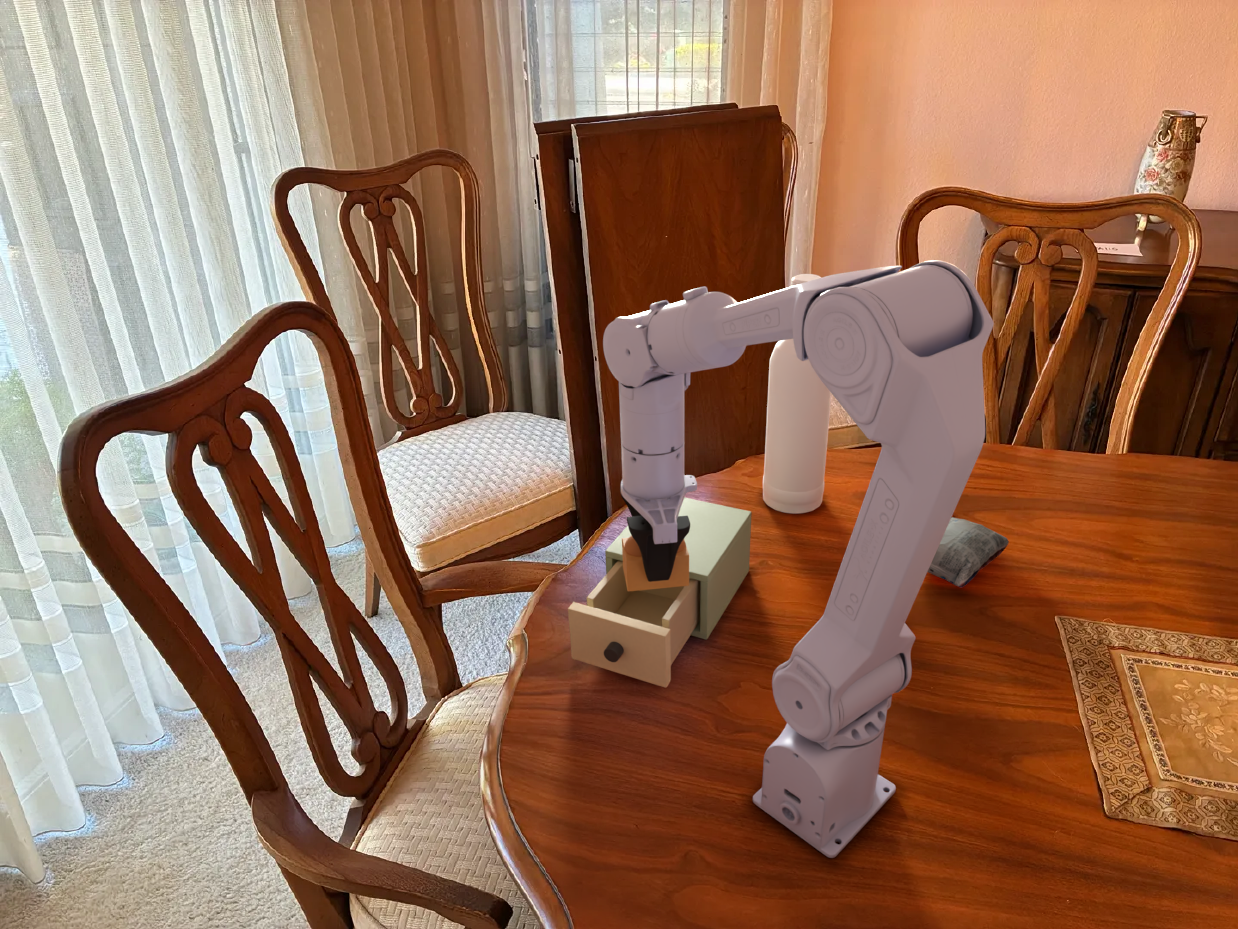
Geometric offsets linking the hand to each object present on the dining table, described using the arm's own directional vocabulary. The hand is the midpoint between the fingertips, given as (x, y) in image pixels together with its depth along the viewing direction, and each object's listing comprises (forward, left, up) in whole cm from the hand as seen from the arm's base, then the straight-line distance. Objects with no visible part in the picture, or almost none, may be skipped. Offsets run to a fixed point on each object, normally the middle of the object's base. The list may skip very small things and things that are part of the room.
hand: (654, 565), depth 84 cm
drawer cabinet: (+9, +5, -11) cm, 15 cm away
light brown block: (0, 0, -1) cm, 1 cm away
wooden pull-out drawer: (-1, +1, -10) cm, 10 cm away
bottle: (+34, +8, -11) cm, 37 cm away
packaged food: (+34, -14, -11) cm, 38 cm away
